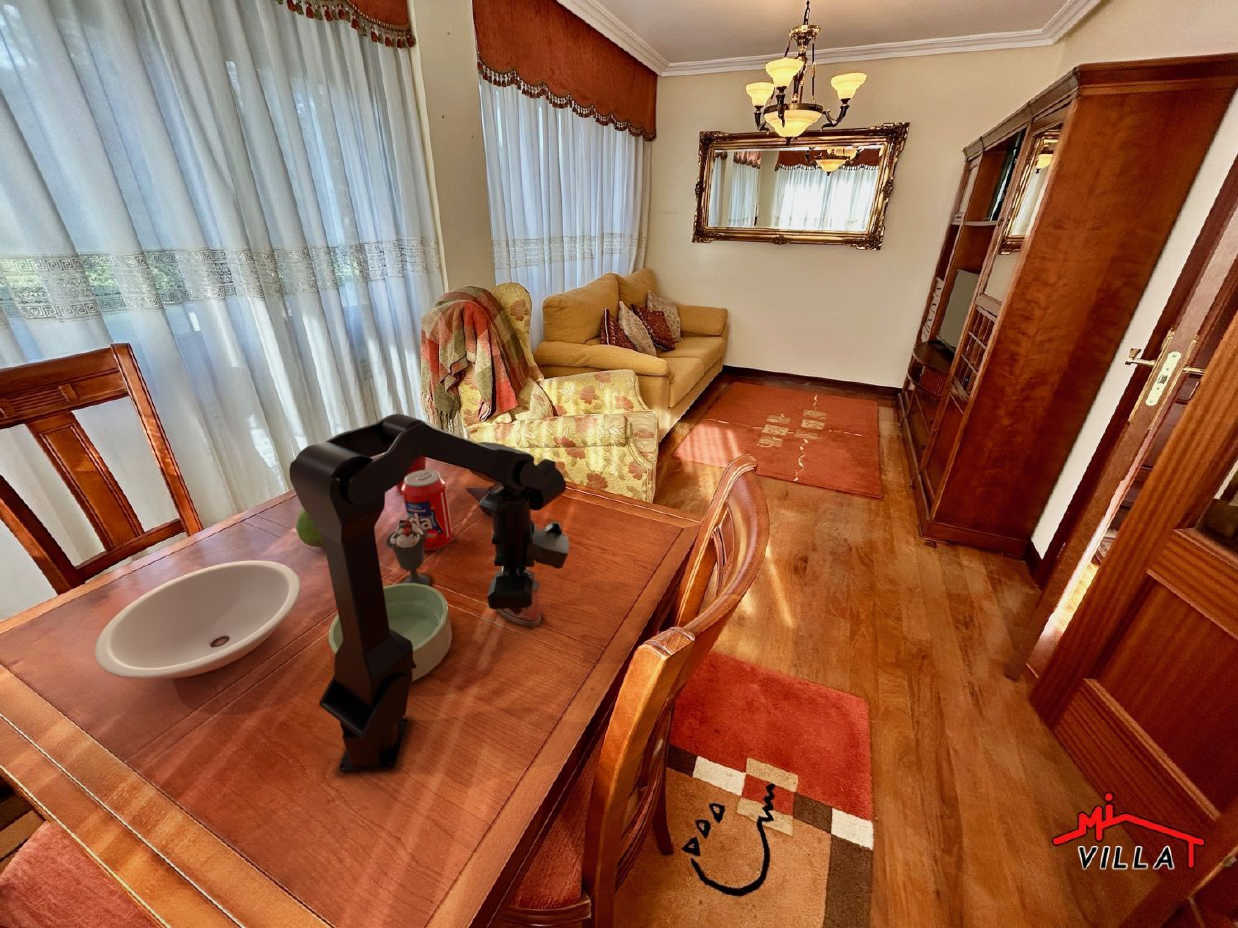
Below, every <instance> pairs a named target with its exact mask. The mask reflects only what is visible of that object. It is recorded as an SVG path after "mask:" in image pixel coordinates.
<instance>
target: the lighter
mask: <svg viewBox="0 0 1238 928" xmlns="http://www.w3.org/2000/svg"><path fill="white" fill-rule="evenodd" d="M502 568H503V566H500V569H499V570H497V571H496V572H495V573H494V578H495V577H496V576H509V574H502ZM509 570H510V569H509ZM518 571H519V569H518ZM525 573H528V574H529V577H530V578H531V579H532V580H533V581H534V584H533V599H532V605H531V606H530V607H528V608H522V609H521V613H520V614H514V613H513V612H512V611H511V610H510V609H497V612H498V613H499V615H501V616H502V617H504V618H506V619H508V620H509V621H511V622H514V623H517V624H520V625H522V626H527V627H536V626H538V625H539V624H540V623H541V621H542V616H541V613H540V599H539V590H540V582H539V581H538V580H537V579H535V572H533V571H531V570H529V569H527V570H526V569H525ZM517 575H518V572H517Z"/></svg>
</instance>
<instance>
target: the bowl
mask: <svg viewBox="0 0 1238 928" xmlns="http://www.w3.org/2000/svg"><path fill="white" fill-rule="evenodd" d="M383 589H384V595H385V602H386V608H387V614H388V621H389V627H390V629H392V630H394V631H395V632H397V633H399V634H400V635H402V636H404V637H405V638H407V639H409V640H410V641H411V642H412V646H413V661H414V663H415V664H416V665H417V667H416V668H415V669H412V672H413V677H412V683H413V682H415V681H417V680H418V679H420V678H422V677H424V676H426V675H428V673H430V672H431V671H432V670H433V669H435V668H436V666H438V664H441V662H442V660H443V659H444V657H445V656H446V654H447V653H448V651H449V650H450V648H451V643H452V639H453V631H452V625H451V620H450V612H449V607H448V601H447V598H446V597H445V596H444V595H443V594H442V593H441V591H440V590H437V589H436V588H434V587H432V586H430V585H429V586H428V585H423V584H417V583H403V582H401V583H395V584H390V585H385V586H383ZM342 641H343V635H342V630H341V625H340V620H339V615H338V614H337V615H336V616H335V618H334V620H333V621H332V623H331V625H330V626H329V632H328V644H329V645H328V646H329V647H330V651H331V654H332V657H333V660H334V662H335V654H336V652H337V650H338V648H339V647H340V645H341V643H342Z"/></svg>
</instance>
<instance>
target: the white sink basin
mask: <svg viewBox="0 0 1238 928" xmlns="http://www.w3.org/2000/svg"><path fill="white" fill-rule="evenodd" d="M300 595H301V581H300V578H299V576H298V575H297V573H296V572H295V571H294V570H293V569H291V567H289V566H288V565H286V564H285V565H284V564H282V563H279V562H275V561H271V560H255V559H254V560H240V561H239V560H238V561H233V562H232V561H231V562H226V563H220V564H216V565H213V566H209V567H205V568H201V569H198V570H196V571H192V572H190V573H187V574H184V575H182V576H179V577H177V578H174V579H172V580H170V581H167V582H166V583H164V584H161V585H159V586H157V587H155V588H154V589H151V590H150V591H148V592H147V593H145V594H143V595H141V596H140V597H138V598H136V599H135V600H133V602H131V603H129V604H128V605H127V606H125V608H123V609H122V610H120V612H119V613H117V614H116V615H115V616H114V617H113V618H112V619H111V620H110V621H109V622H108V623H107V624H106V625H105V627H104V628H103V630H102V631H101V632H100V634H99V636H98V637H97V640H96V643H95V646H94V657H95V661H96V663H97V665H98V667H100V668H101V669H102V670H103V671H104V672H106V673H108V674H110V675H111V676H114V677H118V678H123V679H130V680H152V679H153V680H154V679H178V678H185V677H186V678H187V677H192V676H196V675H201V674H205V673H207V672H210V671H215V670H217V669H219V668H222V667H225V666H226V665H229V664H231V663H233V662H235V661H237V660H239V659H241V658H242V657H244V656H246V655H247V654H249V653H250V652H252V651H253V650H255V649H256V648H257V647H259V646H260V645H261V644H262V643H263V642H265V640H267V639H268V638H269V637H270V636H271V635H272V634H273V633H274V632H275V630H276V629H278V627H279V625H280V624H281V623H282V622H283V621H284V620H285V619H286V618H287V617H288V615H289V614H290V613H291V612H292V610H293V609H294V607H295V606H296V604H297V602H298V600H299V598H300ZM223 637H228V638H229V639H228V641H226V642H225V643H224V644H222V645H219V646H211V645H212V643H213V642H214V641H215V640H218V639H220V638H223Z"/></svg>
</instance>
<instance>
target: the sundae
mask: <svg viewBox="0 0 1238 928" xmlns="http://www.w3.org/2000/svg"><path fill="white" fill-rule="evenodd" d="M427 537H428V534H427V532H426V531H425V530H424V529H422V528H419V527H417V526H416V525H415V524H414V523H413V522H411V521H409V518H407V517H406V519H400V520H399V522H398V526H397V528H396V531H394V532H391V533H390V534H389V535H388V536H387V537H386V540H385V545H386V547H387V548H389V549H392V551H393V553H394V555H395V558H396V561H397V564H398V565H399V567H400V568H401V569H402V570H405V571H408V572H409V577H407V578H405V579H404V580H403V581H402V583H417V584H423V585H428V586H430V584H431V578H430V577H429V576H427V575H424V574H418V569H419V568H420V567H421V566H422V565H423V563H424V560H425V550H424V542H425V541H426V540H427V539H426V538H427Z"/></svg>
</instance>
